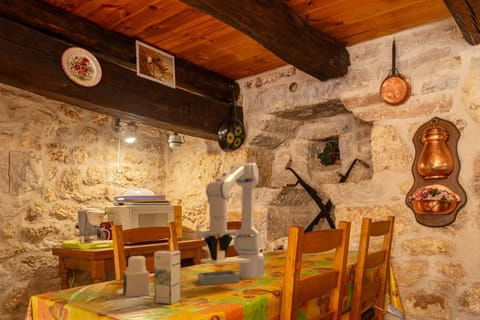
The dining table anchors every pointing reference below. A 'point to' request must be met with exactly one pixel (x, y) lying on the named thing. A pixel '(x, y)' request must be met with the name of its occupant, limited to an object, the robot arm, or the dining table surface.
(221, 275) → the tub
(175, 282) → the syrup box
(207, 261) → the lid
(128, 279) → the medicine bottle
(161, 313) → the dining table surface
